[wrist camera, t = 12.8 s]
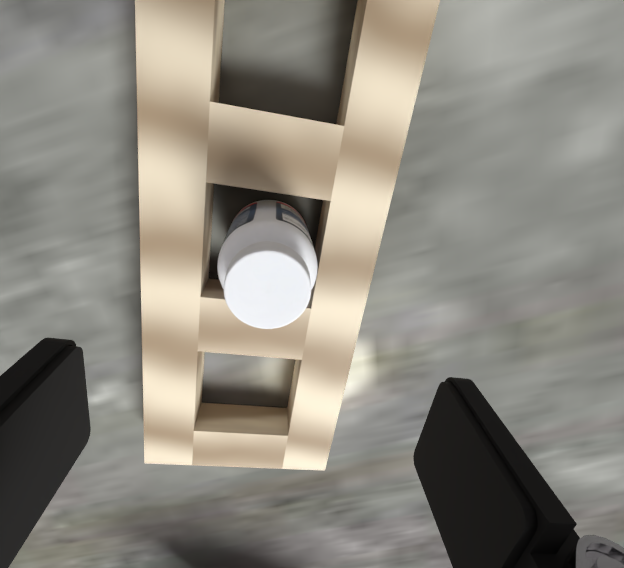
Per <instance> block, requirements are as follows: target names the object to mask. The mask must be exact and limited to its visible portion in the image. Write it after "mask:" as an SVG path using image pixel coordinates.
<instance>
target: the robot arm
mask: <svg viewBox="0 0 624 568" xmlns="http://www.w3.org/2000/svg"><path fill="white" fill-rule="evenodd" d="M89 436H90V419H89V409H88V399H87V389H86V379H85V369H84V359H83V351H82V348H81V347H76V344H75V342H74V341H72V340H66V339H56V338H44V339H43V340H41V341H40V342H39V343H38V344H37V345H36V346H34V347H33V348H32V349H31V350H30V351H29V352H28V353H26V354H25V355H24V356H23V357H22V358H21V359H19V360H18V361H17V362H16V363H15V364H14V365H13V366H11V367H10V368H9V369H8V370H7V371H6V372H4V373H3V374H2V375H1V376H0V568H8V567H9V566H10V564H11V563H12V561H13V559H14V558H15V556H16V555H17V553H18V551H19V550H20V548H21V547H22V545H23V544H24V542H25V540H26V539H27V537H28V536H29V534H30V533H31V531H32V529H33V528H34V526H35V525H36V523H37V521H38V520H39V518H40V517H41V515H42V514H43V512H44V510H45V509H46V507H47V506H48V504H49V502H50V501H51V499H52V498H53V496H54V495H55V493H56V491H57V490H58V488H59V487H60V485H61V484H62V482H63V480H64V479H65V477H66V476H67V474H68V472H69V471H70V469H71V468H72V466H73V465H74V463H75V461H76V460H77V458H78V457H79V455H80V453H81V452H82V450H83V449H84V447H85V446H86V444H87V442H88V439H89ZM414 465H415V468H416V471H417V473H418V476H419V479H420V481H421V484H422V487H423V489H424V492H425V495H426V497H427V500H428V502H429V505H430V508H431V510H432V513H433V516H434V518H435V521H436V524H437V526H438V529H439V532H440V534H441V537H442V540H443V542H444V545H445V548H446V550H447V553H448V556H449V558H450V561H451V564H452V566H453V568H624V548H623V547H622V546H620V545H619V544H617V543H615V542H613V541H610V540H608V539H606V538H603V537H600V536H596V535H585V536H583V537H582V538H579V536H578V535H577V534H576V532H575V531H574V527H575V526H576V522H575V521H574V520H573V518H572V517H571V516H570V514H569V513H568V511H567V510H566V509H565V507H564V506H563V505H562V503H561V502H560V500H559V499H558V498H557V496H556V495H555V494H554V492H553V491H552V490H551V488H550V487H549V485H548V484H547V483H546V481H545V480H544V479H543V477H542V476H541V474H540V473H539V472H538V470H537V469H536V468H535V466H534V465H533V463H532V462H531V461H530V459H529V458H528V457H527V455H526V454H525V452H524V451H523V450H522V448H521V447H520V446H519V444H518V443H517V442H516V440H515V439H514V437H513V436H512V435H511V433H510V432H509V431H508V429H507V428H506V426H505V425H504V424H503V422H502V421H501V420H500V418H499V417H498V415H497V414H496V413H495V411H494V410H493V409H492V407H491V406H490V405H489V403H488V402H487V400H486V399H485V398H484V396H483V395H482V394H481V392H480V391H479V389H478V388H477V387H476V385H475V384H474V383H473V382H472V381H471V380H470V379H463V378H453V377H450V378H447V379H446V381H445V382H441V383H440V385H439V387H438V389H437V392H436V395H435V398H434V400H433V403H432V406H431V408H430V411H429V414H428V416H427V419H426V422H425V424H424V427H423V430H422V433H421V435H420V438H419V441H418V443H417V446H416V449H415V452H414Z"/></svg>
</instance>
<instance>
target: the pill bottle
mask: <svg viewBox="0 0 624 568" xmlns="http://www.w3.org/2000/svg"><path fill="white" fill-rule="evenodd" d="M317 268H318V266H317V257H316V253H315V250H314V247H313V244H312V241H311V237H310V234H309V231H308V228H307V226H306V223H305V221H304V219H303V218H302V216H301V215H300V214H299V213H298V212H297V211H296V210H295V209H294V208H293V207H291V206H290V205H288V204H286V203H283V202H280V201H276V200H261V201H256V202H253V203H251V204H249V205H247V206H246V207H244V208H243V209H242V210H241V211H240V212H239V213H238V214H237V215H236V217H235V218H234V220H233V222H232V224H231V226H230V228H229V230H228V233H227V235H226V237H225V240H224V242H223V245H222V247H221V250H220V253H219V257H218V264H217V269H218V276H219V280H220V283H221V285H222V288H223V289H224V297H225V300H226V303H227V305H228V307H229V309H230V310H231V312H232V313H233V314H234V315H235V316H236V317H237V318H238V319H239V320H241V321H242V322H244V323H246V324H248V325H250V326H253V327H256V328H261V329H273V328H280V327H283V326H285V325H288V324H290V323H291V322H293V321H295V320H296V319H297V318H298V317H299V316H300V315H301V314H302V313H303V312H304V310H305V309H306V307H307V305H308V303H309V300H310V296H311V290H312V288H313V286H314V284H315V281H316V277H317Z"/></svg>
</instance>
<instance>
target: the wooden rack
mask: <svg viewBox="0 0 624 568" xmlns="http://www.w3.org/2000/svg"><path fill="white" fill-rule="evenodd" d="M224 2H225V0H135V26H136V74H137V122H138V170H139V218H140V266H141V314H142V363H143V411H144V459H145V463H150V464H175V465H201V466H226V467H252V468H277V469H303V470H325V468H326V464H327V459H328V455H329V451H330V447H331V443H332V439H333V435H334V431H335V427H336V423H337V419H338V415H339V410H340V406H341V402H342V398H343V394H344V390H345V386H346V382H347V378H348V374H349V370H350V366H351V361H352V357H353V353H354V349H355V345H356V341H357V337H358V333H359V329H360V325H361V321H362V317H363V312H364V308H365V304H366V300H367V296H368V292H369V288H370V284H371V280H372V276H373V272H374V268H375V263H376V259H377V255H378V251H379V247H380V243H381V239H382V235H383V231H384V227H385V223H386V219H387V214H388V210H389V206H390V202H391V198H392V194H393V190H394V186H395V182H396V178H397V174H398V170H399V165H400V161H401V157H402V153H403V149H404V145H405V141H406V137H407V133H408V129H409V125H410V121H411V116H412V112H413V108H414V104H415V100H416V96H417V92H418V88H419V84H420V80H421V76H422V72H423V67H424V63H425V59H426V55H427V51H428V47H429V43H430V39H431V35H432V31H433V27H434V23H435V19H436V14H437V10H438V6H439V2H440V0H358V2H357V7H356V13H355V19H354V25H353V30H352V36H351V42H350V48H349V54H348V59H347V65H346V71H345V77H344V82H343V88H342V94H341V100H340V105H339V111H338V117H337V123H336V124H330V123H325V122H319V121H314V120H308V119H303V118H297V117H292V116H287V115H281V114H276V113H270V112H265V111H259V110H254V109H248V108H243V107H237V106H232V105H226V104H221V103H219V89H220V72H221V54H222V37H223V20H224ZM214 183H215V184H221V185H228V186H235V187H241V188H248V189H255V190H261V191H268V192H274V193H281V194H288V195H294V196H301V197H308V198H314V199H321V200H323V204H322V209H321V215H320V221H319V227H318V232H317V238H316V244H315V253H316V257H317V266H318V268H317V277H316V281H315V284H314V286H313V288H312V290H311V296H310V300H309V303H308V305H307V307H306V309H305V310H304V312H303V313H302V314H301V315H300V316H299V317H298V318H297V319H296V320H295V321H293V322H291V323H290V324H288V325H285V326H283V327H280V328H273V329H261V328H256V327H253V326H250V325H248V324H246V323H244V322H242V321H241V320H239V319H238V318H237V317H236V316H235V315H234V314H233V313H232V312H231V310H230V309H229V307H228V305H227V303H226V300H225V297H224V289H223V288H222V285H221V283H220V280H218V279H209V264H210V246H211V229H212V211H213V194H214ZM204 352H214V353H226V354H238V355H250V356H262V357H274V358H285V359H295V365H294V371H293V377H292V382H291V388H290V394H289V400H288V406H287V408H279V407H263V406H248V405H232V404H216V403H202V386H203V369H204Z"/></svg>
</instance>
